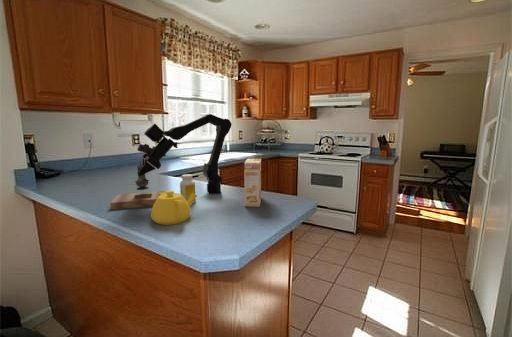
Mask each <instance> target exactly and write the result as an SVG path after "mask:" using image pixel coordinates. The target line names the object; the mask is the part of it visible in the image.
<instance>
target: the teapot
mask: <svg viewBox="0 0 512 337" xmlns="http://www.w3.org/2000/svg"><path fill="white" fill-rule="evenodd" d="M166 191H167V192H166V194H165V193H164V192H159V191H157V192H158V198H157V200H156V201H155V203H154V205H153V206H152V208H151V214H150V215H151V216H150V217H151V220H153V221H154V222H155V223H156V224H157V225H158V224H159V225H163V226H166V225H167V226H169V225H177V224H180V223H183V222H185V221H187V220H188V218H190V216H191V213H192V211H191V206H192V205H193V204H194V203H195V202H194V200H195V198H196V199H197V196H198V195H197V194H196V193H195V194H193V193H192V194H191V196H190V197H189V199H188V200H187V201H186V200H185V198H184V197H183V196H182V195H181V193H178V192H175V191H174V190H166ZM193 202H194V203H193Z"/></svg>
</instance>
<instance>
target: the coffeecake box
mask: <svg viewBox="0 0 512 337" xmlns="http://www.w3.org/2000/svg"><path fill="white" fill-rule="evenodd" d="M243 164H244V165H243V166H244V168H243V169H244V171H243V174H244V176H243V177H244V180H243V181H244V182H243V183H244V185H243V186H244V191H243V193H244V207H257V208H259V207H260V206H261V202H262V201H261V200H262V158H246V160H245V161H244V163H243Z"/></svg>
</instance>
